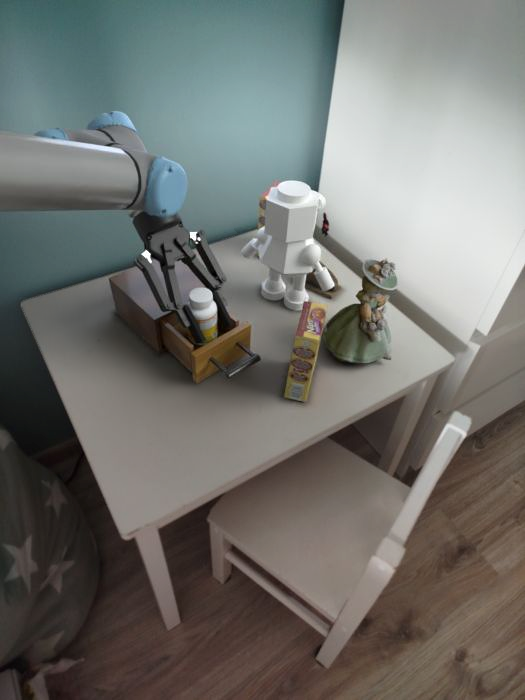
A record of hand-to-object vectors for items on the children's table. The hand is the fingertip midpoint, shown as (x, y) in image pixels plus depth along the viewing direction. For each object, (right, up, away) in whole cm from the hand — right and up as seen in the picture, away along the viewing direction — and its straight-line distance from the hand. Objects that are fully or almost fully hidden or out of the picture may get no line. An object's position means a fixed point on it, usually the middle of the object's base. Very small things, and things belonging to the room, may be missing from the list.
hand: (215, 333), depth 81 cm
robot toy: (+13, +8, +20) cm, 25 cm away
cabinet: (-11, +4, +13) cm, 18 cm away
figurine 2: (+19, +12, +24) cm, 33 cm away
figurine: (+26, -3, +9) cm, 28 cm away
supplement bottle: (-3, 0, +4) cm, 5 cm away
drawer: (-2, -4, +5) cm, 7 cm away
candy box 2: (+15, -9, +3) cm, 18 cm away
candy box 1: (+11, +22, +32) cm, 40 cm away
